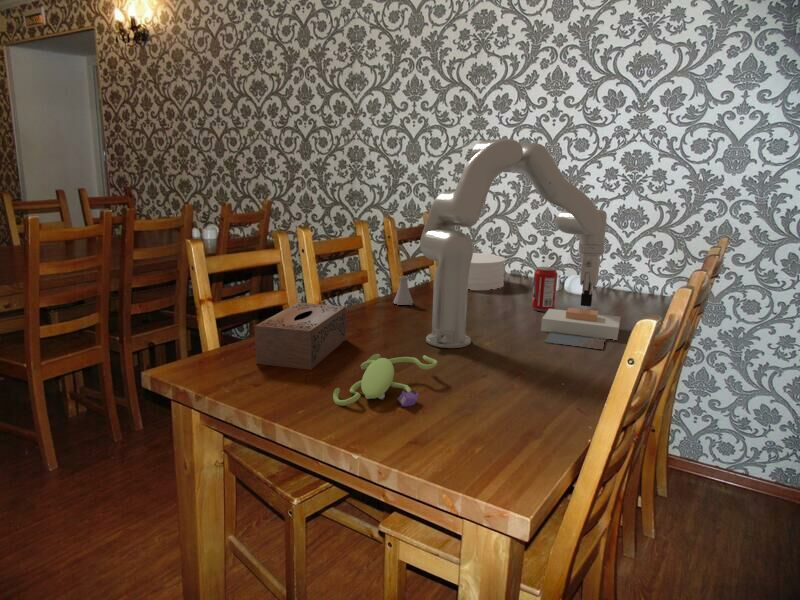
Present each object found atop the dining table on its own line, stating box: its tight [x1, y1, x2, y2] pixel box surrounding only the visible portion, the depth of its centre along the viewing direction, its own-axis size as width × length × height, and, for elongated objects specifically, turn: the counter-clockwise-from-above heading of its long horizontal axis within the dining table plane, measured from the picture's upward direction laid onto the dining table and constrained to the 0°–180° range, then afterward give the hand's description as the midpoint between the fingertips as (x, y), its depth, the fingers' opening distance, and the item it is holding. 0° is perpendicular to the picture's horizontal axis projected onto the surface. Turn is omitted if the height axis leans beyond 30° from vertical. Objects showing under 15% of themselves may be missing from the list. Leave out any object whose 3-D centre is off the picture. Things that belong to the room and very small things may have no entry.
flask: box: [392, 275, 414, 306], centre depth 204 cm, size 7×7×10 cm
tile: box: [566, 307, 599, 322], centre depth 176 cm, size 6×9×2 cm, turn 67°
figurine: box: [332, 353, 438, 407], centre depth 127 cm, size 18×27×6 cm
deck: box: [540, 308, 622, 341], centre depth 177 cm, size 14×22×4 cm, turn 67°
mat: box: [544, 332, 607, 348], centre depth 166 cm, size 12×16×1 cm
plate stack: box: [468, 252, 506, 291], centre depth 244 cm, size 28×28×12 cm
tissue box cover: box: [254, 302, 347, 370], centre depth 150 cm, size 26×14×10 cm, turn 166°
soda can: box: [531, 266, 558, 313], centre depth 200 cm, size 8×8×15 cm
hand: (585, 305), depth 184 cm, fingers closed
